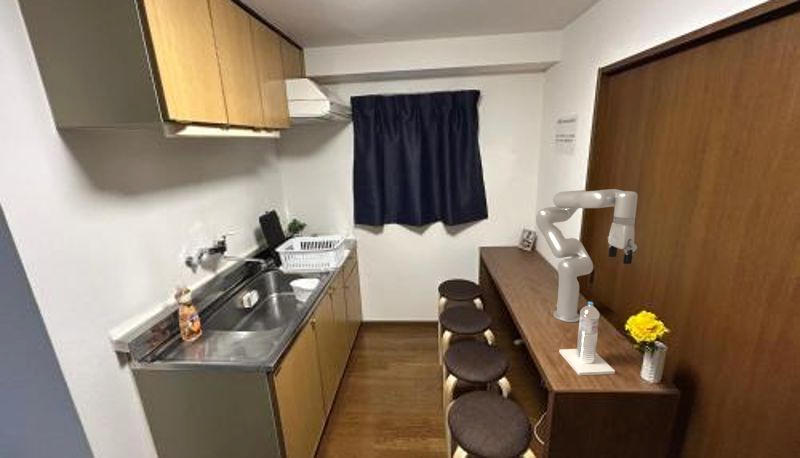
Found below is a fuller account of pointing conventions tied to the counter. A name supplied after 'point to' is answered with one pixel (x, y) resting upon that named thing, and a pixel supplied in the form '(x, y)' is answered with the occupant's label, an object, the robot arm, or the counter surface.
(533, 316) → the counter surface
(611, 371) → the board
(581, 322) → the water bottle
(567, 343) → the counter surface
